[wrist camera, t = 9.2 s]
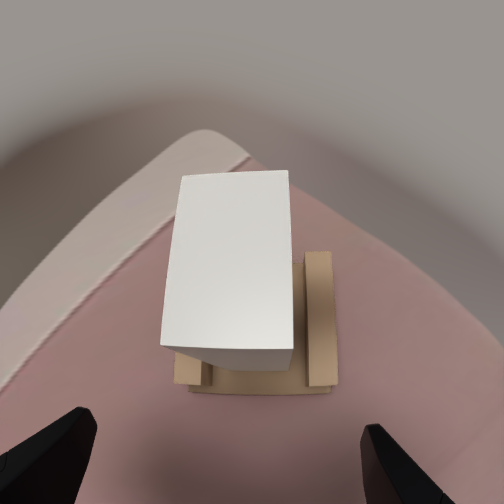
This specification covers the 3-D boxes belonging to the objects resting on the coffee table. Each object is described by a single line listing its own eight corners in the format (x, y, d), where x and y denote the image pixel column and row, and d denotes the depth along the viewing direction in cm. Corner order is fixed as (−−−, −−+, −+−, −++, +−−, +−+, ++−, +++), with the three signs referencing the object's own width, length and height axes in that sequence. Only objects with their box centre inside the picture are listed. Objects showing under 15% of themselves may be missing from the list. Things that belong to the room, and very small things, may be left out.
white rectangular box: (288, 371, 19) (293, 348, 8) (228, 370, 20) (158, 345, 9) (287, 283, 22) (287, 170, 11) (231, 283, 22) (181, 176, 11)
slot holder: (328, 392, 19) (338, 393, 16) (191, 391, 20) (173, 391, 16) (323, 266, 23) (329, 243, 19) (198, 269, 24) (184, 248, 20)
